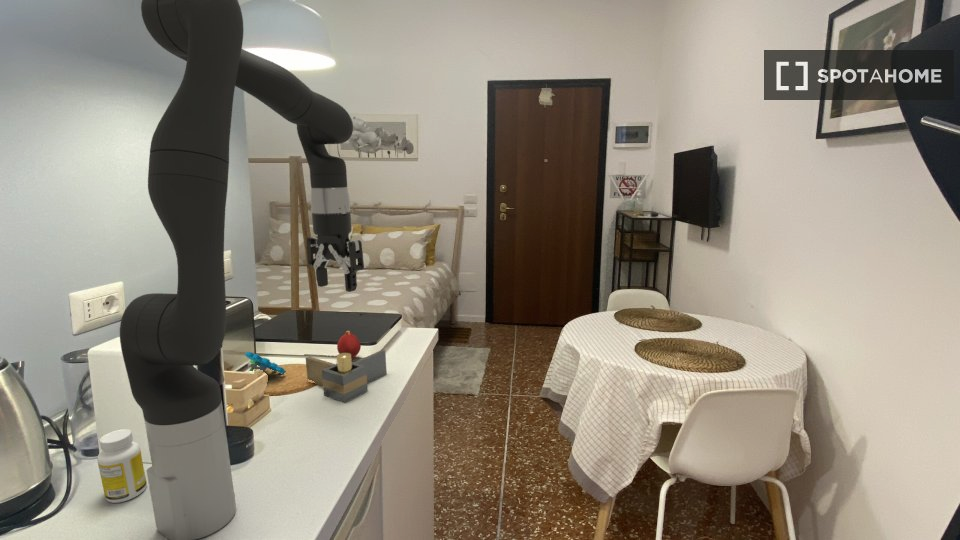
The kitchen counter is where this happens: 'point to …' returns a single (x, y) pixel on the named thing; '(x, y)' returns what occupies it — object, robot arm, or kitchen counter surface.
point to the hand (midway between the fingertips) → (336, 288)
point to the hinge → (346, 376)
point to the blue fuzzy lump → (262, 363)
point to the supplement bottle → (121, 466)
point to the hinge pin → (344, 362)
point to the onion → (349, 344)
